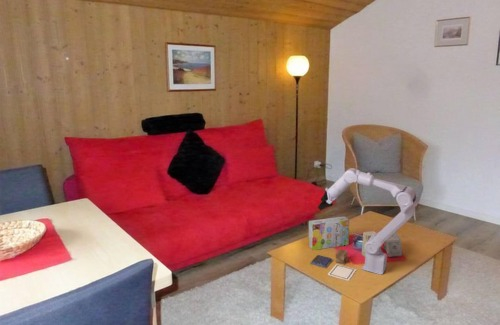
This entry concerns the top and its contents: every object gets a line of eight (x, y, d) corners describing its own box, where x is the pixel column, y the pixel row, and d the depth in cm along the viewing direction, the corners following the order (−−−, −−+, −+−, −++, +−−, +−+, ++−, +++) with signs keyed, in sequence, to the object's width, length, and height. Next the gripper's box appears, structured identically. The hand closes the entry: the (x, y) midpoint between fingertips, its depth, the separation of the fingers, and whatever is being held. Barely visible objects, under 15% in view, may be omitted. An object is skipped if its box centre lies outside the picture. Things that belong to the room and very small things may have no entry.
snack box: (343, 241, 205) (344, 215, 201) (348, 245, 199) (350, 219, 196) (308, 246, 200) (308, 220, 196) (312, 250, 194) (312, 224, 191)
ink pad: (332, 260, 184) (332, 258, 184) (325, 268, 177) (325, 266, 177) (317, 256, 188) (317, 254, 188) (310, 263, 181) (310, 261, 181)
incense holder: (381, 248, 195) (382, 230, 193) (397, 249, 194) (398, 230, 192) (384, 257, 186) (386, 238, 183) (402, 258, 185) (403, 239, 182)
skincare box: (366, 258, 185) (367, 235, 183) (361, 254, 190) (362, 232, 187) (377, 256, 187) (378, 234, 184) (372, 252, 191) (373, 230, 188)
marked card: (356, 270, 175) (356, 269, 175) (348, 281, 166) (348, 280, 166) (336, 264, 180) (336, 263, 180) (327, 274, 171) (327, 274, 171)
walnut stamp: (346, 260, 184) (347, 251, 183) (343, 264, 180) (343, 255, 179) (339, 258, 186) (339, 249, 185) (335, 262, 182) (335, 253, 181)
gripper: (334, 175, 183) (317, 192, 190) (329, 189, 170) (311, 207, 177) (345, 184, 183) (328, 201, 190) (341, 198, 170) (323, 216, 177)
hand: (320, 204), depth 184 cm, fingers open, 7 cm apart
